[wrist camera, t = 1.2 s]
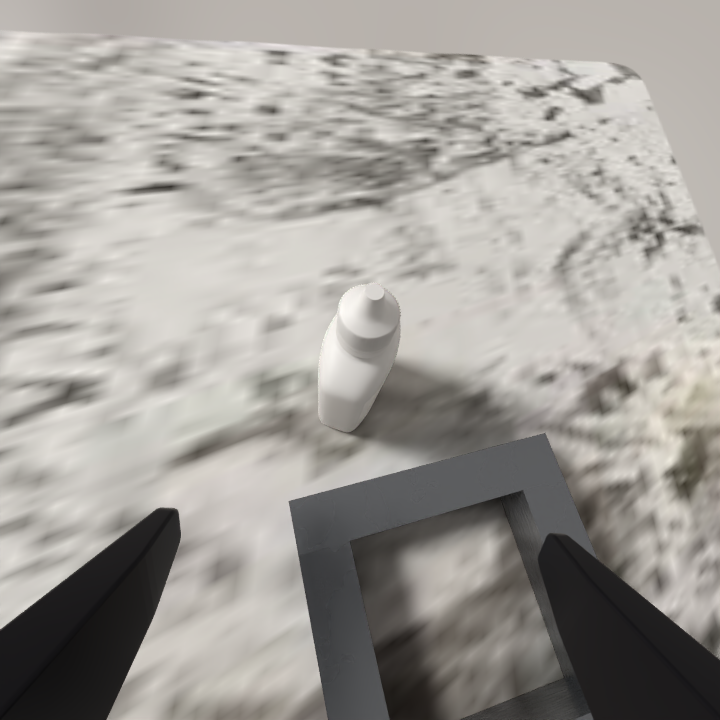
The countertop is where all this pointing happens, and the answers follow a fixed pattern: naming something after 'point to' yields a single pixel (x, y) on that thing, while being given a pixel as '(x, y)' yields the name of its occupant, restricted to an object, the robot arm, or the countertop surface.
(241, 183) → the countertop surface
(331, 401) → the eye dropper bottle
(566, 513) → the hollow square frame
